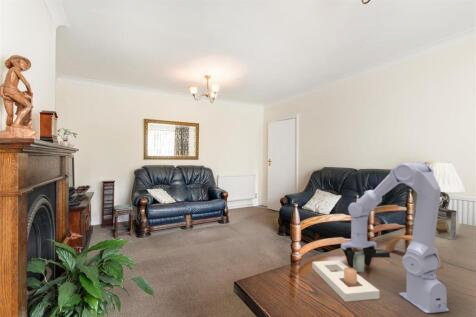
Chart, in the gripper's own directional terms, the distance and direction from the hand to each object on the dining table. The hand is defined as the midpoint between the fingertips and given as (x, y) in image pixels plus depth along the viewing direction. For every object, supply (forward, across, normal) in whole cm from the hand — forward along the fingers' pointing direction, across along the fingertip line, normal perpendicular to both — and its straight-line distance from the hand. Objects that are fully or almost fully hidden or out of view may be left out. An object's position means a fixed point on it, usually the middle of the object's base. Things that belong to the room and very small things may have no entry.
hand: (358, 265), depth 92 cm
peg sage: (+2, 0, 0) cm, 2 cm away
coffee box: (+2, -76, -29) cm, 81 cm away
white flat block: (+2, +12, +7) cm, 14 cm away
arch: (+2, -31, -6) cm, 31 cm away
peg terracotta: (+2, +12, +12) cm, 17 cm away
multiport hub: (+2, -16, -12) cm, 20 cm away
